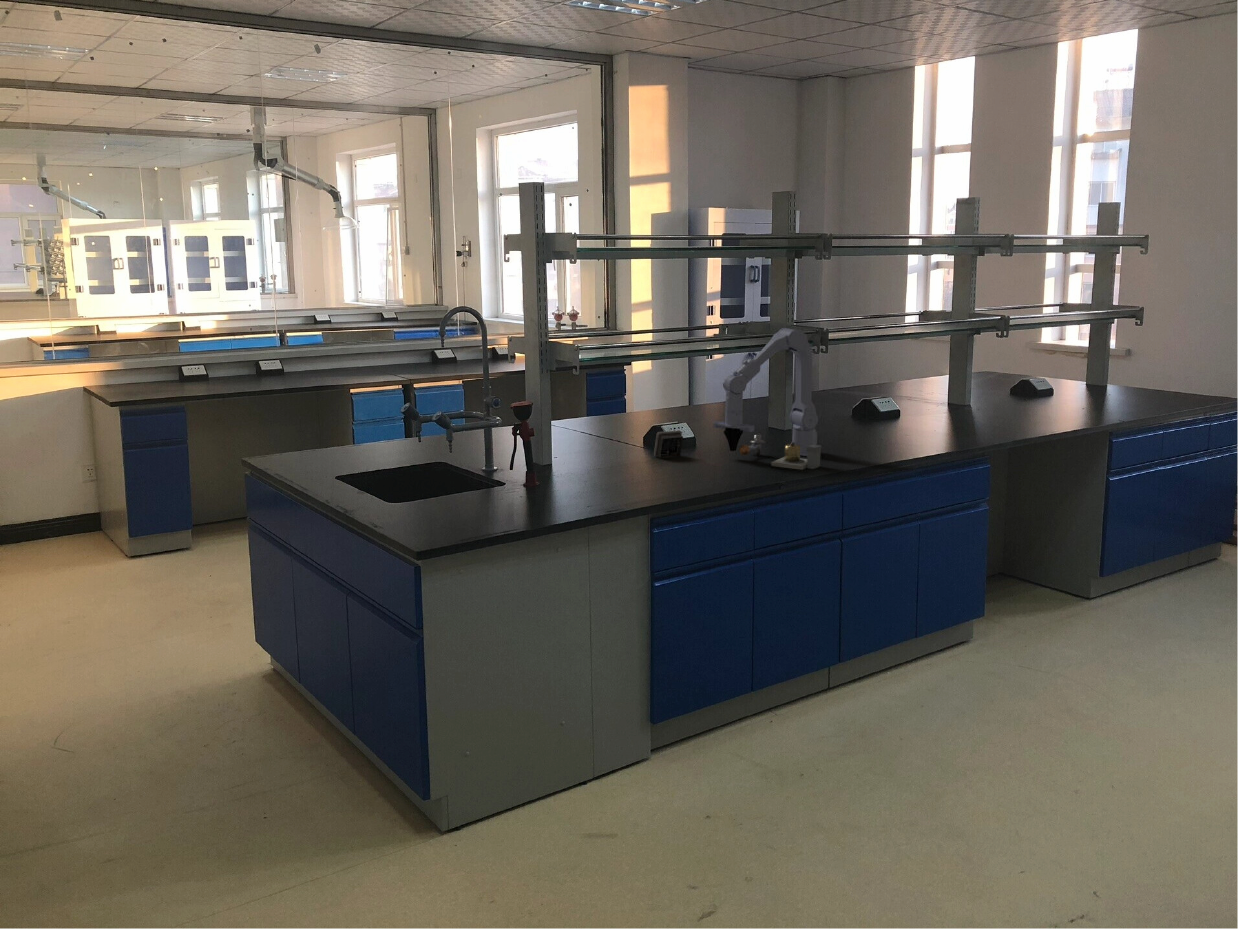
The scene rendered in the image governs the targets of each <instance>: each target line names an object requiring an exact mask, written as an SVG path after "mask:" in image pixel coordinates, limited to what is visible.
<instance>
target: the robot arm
mask: <svg viewBox="0 0 1238 929" xmlns="http://www.w3.org/2000/svg"><path fill="white" fill-rule="evenodd" d="M784 350H789V351H790V352H791V353H793V354H794V355H795V399H794V400H795V401H794V402H793V403H792V406H791V411H790V413H789V422H790V423H791V424H792V438H791V439H792V441H791V442H794V443H795V444H797V445H800V456H803V457H807V447H808V446H810V445H818V431H816V429H815V428H816V426H817V424H818V422H819V416H818V414H817V411H816V406H815V404H814V403H813V401H812V397H813V396H812V392H813V391H812V390H813V389H812V384H813V383H812V382H813V381H812V380H813V379H812V378H813V376H812V375H813V349H812V347H811V344H810V343H809V341H808V336H807V334H806V333H805V332H803V331H802V330H800V329H794V328H793V329H792V328H788V327H783V328H780V329H779V330H778V332H776V333H774V334H773V335H772V337H771V339H770V340H769V341H768V342H767V343H766V344H765V345H764V347H763V348H762V349H760V351H759V352H758V353H757V354H756V355H755V356H754V357H753V358H748V359H745V360H742V364H741V365H740V366H739V367H738V368H737V369H736V370H734V371H733V372H732V374H729V375H728V376H726V377H725V379H724V382H723V383H722V387H723V389H724V390H725V410H724V411H725V412H724V413H725V415H724V417H725V419H724V420H725V421H714V422H712V423H713V429H724V431H723V434H724V435H725V437H726V440H727V442H728V447H729V451H731V452H735V451H737V448H738V444H739V441H740V439H741V437H742V435H743V433H744V432H748V433H749V432H750V433H752V432H754V431H755V424H754V425H753V424H747V423H743V405H744V403H743V400H744V399H743V397H744V396H743V395H744V392H745V391H746V389H747V385H748V383H749V382H751V381H752V380H753V379H754V377H756V376H757V375H758V374H759V373H760V372H761V366H762V365H763V364H764V363H766V361H768V360H769V359H770V358H771V357H772V356H773V355H775V354H776V353H777V352H778V351H784Z"/></svg>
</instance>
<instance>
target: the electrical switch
mask: <svg viewBox="0 0 1238 929" xmlns="http://www.w3.org/2000/svg"><path fill="white" fill-rule="evenodd" d="M682 434H683V432H682V431H681V430H680V429H678V430H669V431H657V433H656V436H655V441H654V442H655V444H654V450H653V456H654V458H659V459H670V458H672V459H673V458H680V457H681V453H682V446H683V441H684V436H683V435H682Z"/></svg>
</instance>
